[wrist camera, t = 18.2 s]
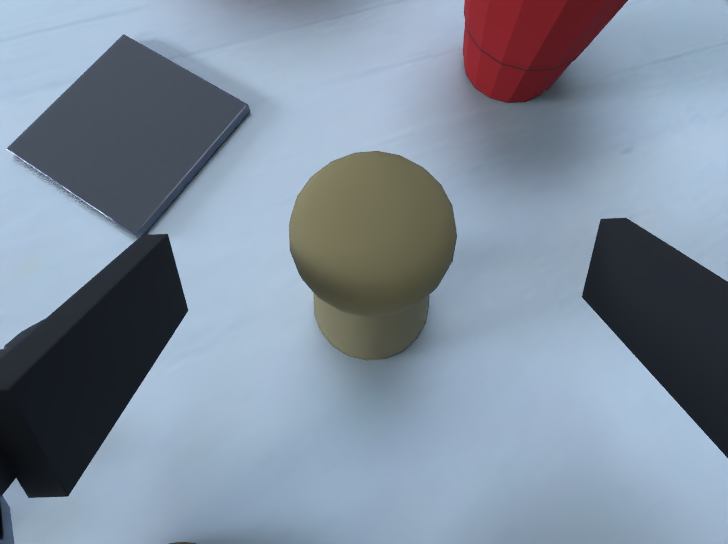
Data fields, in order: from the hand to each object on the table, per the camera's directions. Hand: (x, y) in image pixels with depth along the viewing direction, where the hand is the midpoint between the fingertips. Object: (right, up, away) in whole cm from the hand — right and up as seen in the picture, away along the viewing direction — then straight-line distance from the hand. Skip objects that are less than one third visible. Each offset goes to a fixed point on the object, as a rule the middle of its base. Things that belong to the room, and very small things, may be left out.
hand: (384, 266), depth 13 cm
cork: (0, -2, +9) cm, 9 cm away
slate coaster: (-14, +8, +12) cm, 21 cm away
